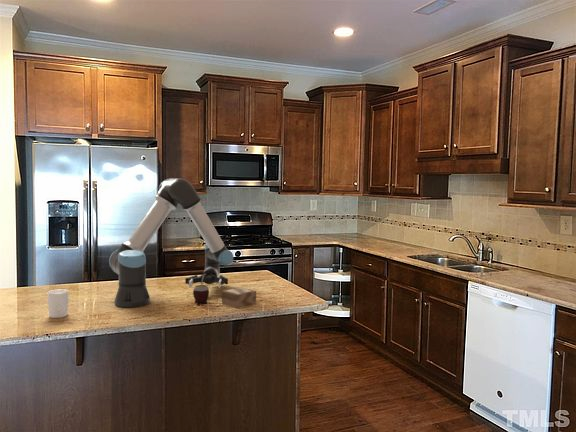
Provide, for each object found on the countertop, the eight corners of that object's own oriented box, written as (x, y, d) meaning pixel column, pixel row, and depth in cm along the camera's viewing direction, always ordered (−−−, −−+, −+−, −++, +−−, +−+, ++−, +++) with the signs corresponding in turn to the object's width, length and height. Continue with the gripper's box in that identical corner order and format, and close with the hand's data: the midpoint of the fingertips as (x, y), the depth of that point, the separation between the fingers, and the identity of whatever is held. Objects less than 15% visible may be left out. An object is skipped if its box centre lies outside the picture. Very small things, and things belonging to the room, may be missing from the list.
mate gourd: (198, 301, 216) (198, 269, 215) (213, 302, 213) (213, 270, 212) (189, 304, 209) (189, 272, 208) (205, 306, 206) (205, 273, 205)
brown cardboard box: (237, 308, 204) (237, 294, 204) (221, 303, 211) (221, 290, 211) (256, 304, 212) (256, 290, 212) (240, 299, 220) (240, 286, 219)
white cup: (72, 313, 193) (72, 289, 192) (64, 318, 185) (63, 293, 185) (53, 312, 193) (52, 289, 192) (44, 318, 185) (43, 293, 184)
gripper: (234, 283, 237) (231, 292, 216) (185, 282, 235) (177, 292, 214) (234, 268, 236) (231, 276, 215) (185, 268, 235) (177, 276, 214)
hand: (204, 284), depth 215 cm, fingers open, 13 cm apart
